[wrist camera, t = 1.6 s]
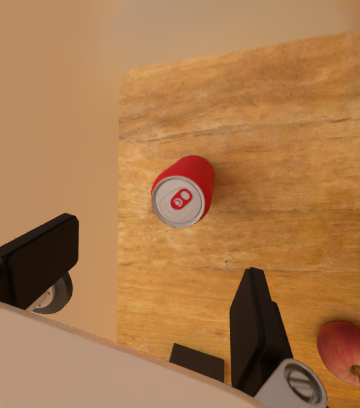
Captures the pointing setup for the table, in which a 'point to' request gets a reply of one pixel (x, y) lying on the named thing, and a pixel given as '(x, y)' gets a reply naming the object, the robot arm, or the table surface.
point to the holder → (198, 362)
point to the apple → (341, 350)
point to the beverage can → (183, 192)
